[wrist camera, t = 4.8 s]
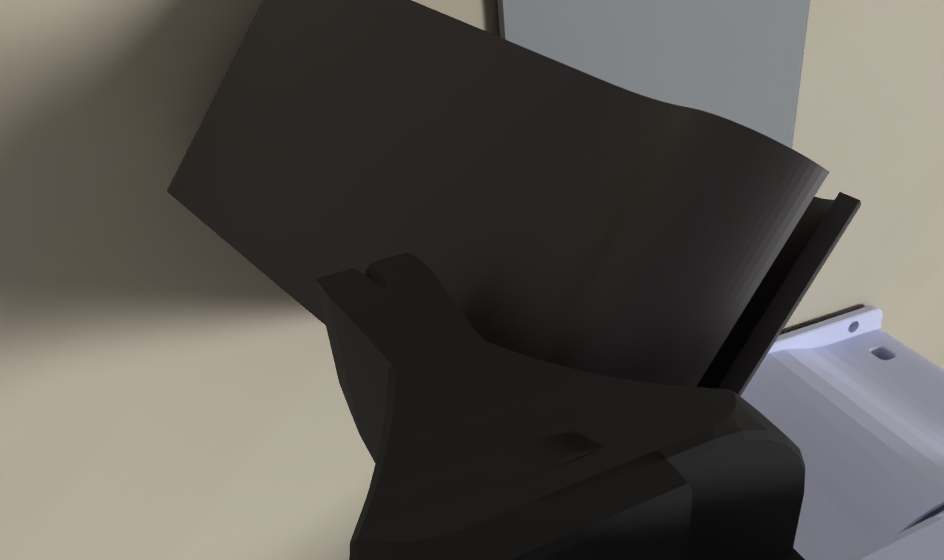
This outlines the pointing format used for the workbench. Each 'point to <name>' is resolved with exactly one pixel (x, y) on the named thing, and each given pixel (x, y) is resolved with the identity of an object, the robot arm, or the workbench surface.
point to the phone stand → (509, 191)
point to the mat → (678, 51)
